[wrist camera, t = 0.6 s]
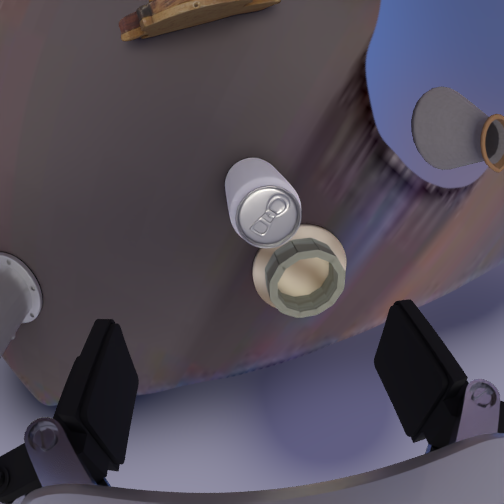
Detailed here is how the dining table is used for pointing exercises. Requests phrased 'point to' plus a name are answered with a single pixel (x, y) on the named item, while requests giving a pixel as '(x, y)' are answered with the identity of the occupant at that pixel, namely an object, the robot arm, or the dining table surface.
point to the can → (262, 203)
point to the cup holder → (301, 272)
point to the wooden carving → (182, 15)
